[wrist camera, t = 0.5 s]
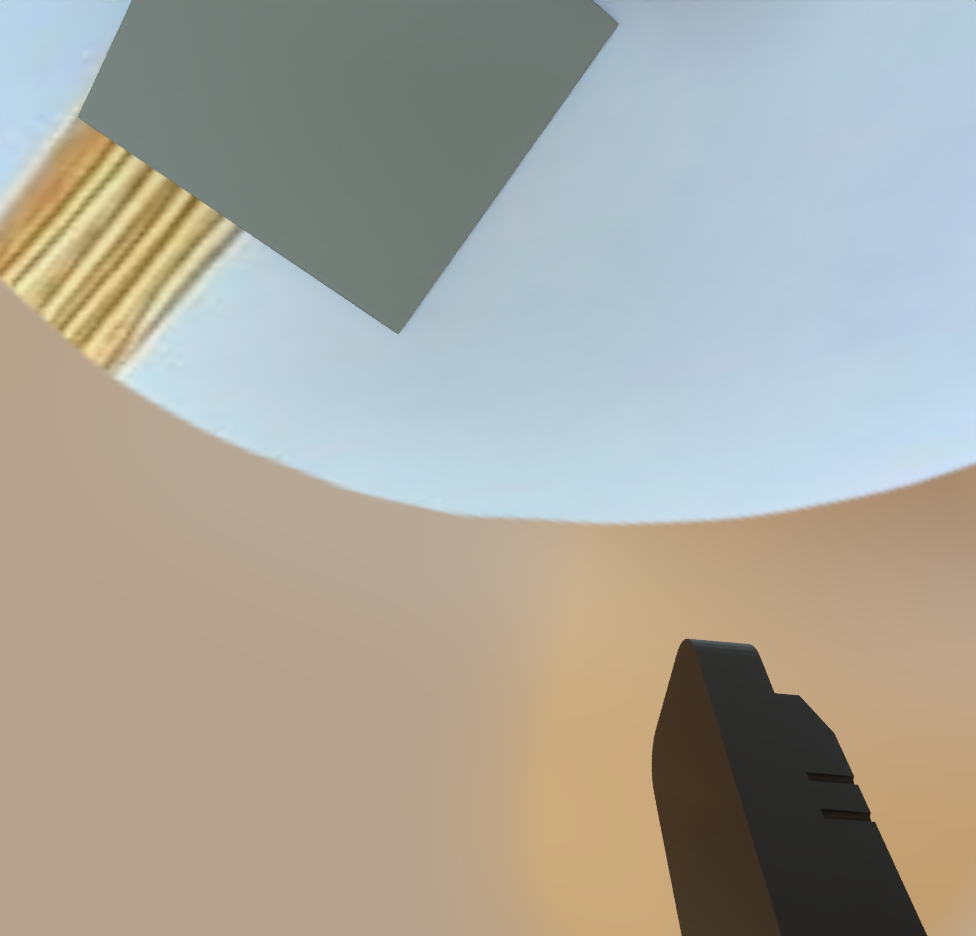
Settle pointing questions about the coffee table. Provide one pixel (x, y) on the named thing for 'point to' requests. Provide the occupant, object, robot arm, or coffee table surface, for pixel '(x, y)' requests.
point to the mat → (345, 120)
